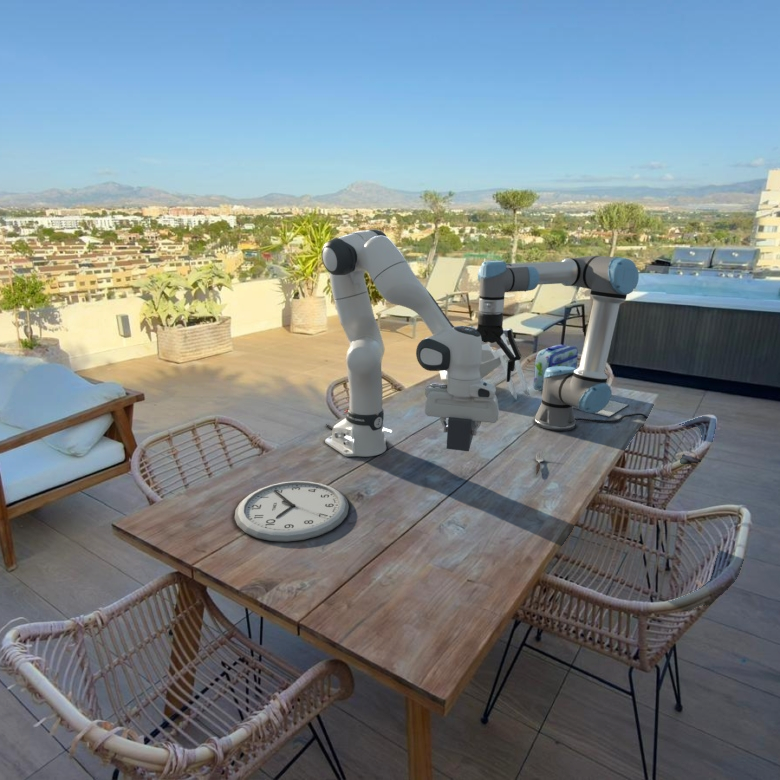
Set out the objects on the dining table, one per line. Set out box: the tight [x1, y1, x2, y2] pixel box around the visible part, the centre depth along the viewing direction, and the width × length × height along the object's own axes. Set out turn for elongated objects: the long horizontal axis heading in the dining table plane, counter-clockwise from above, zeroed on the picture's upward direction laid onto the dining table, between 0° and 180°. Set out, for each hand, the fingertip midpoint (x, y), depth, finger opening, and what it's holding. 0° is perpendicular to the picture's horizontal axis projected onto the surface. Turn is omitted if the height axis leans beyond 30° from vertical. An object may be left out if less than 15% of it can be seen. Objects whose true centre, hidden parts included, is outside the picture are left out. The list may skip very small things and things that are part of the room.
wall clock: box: [234, 480, 350, 543], centre depth 140 cm, size 30×2×30 cm
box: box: [446, 417, 476, 452], centre depth 156 cm, size 27×6×9 cm, turn 166°
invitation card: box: [573, 400, 629, 418], centre depth 226 cm, size 21×1×15 cm
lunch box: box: [533, 344, 579, 392], centre depth 247 cm, size 26×11×21 cm, turn 134°
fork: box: [535, 451, 546, 476], centre depth 168 cm, size 3×16×2 cm, turn 160°
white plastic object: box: [438, 334, 531, 400], centre depth 245 cm, size 37×45×31 cm
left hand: (460, 433), depth 147 cm, fingers closed on box, 6 cm apart
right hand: (486, 378), depth 168 cm, fingers open, 13 cm apart
